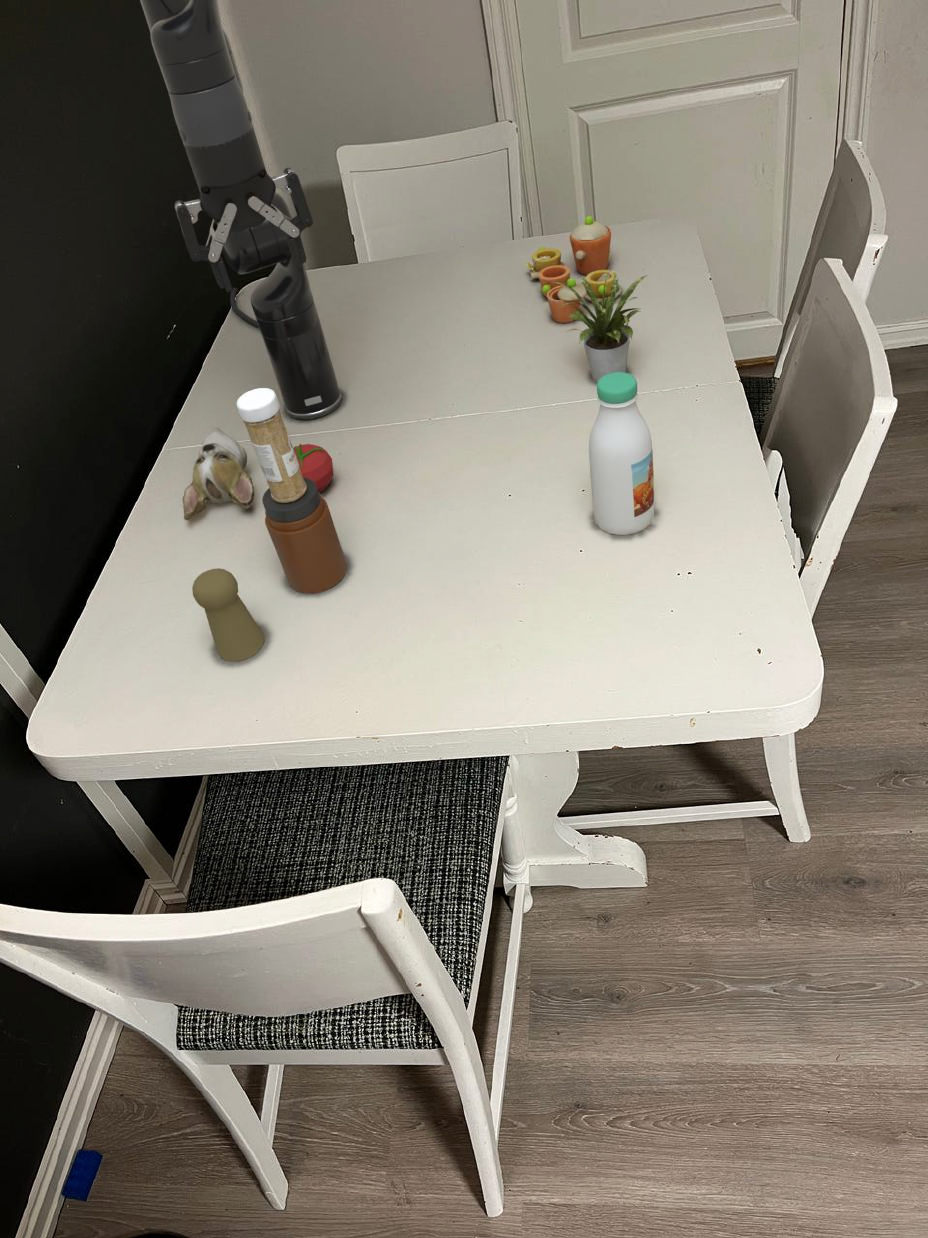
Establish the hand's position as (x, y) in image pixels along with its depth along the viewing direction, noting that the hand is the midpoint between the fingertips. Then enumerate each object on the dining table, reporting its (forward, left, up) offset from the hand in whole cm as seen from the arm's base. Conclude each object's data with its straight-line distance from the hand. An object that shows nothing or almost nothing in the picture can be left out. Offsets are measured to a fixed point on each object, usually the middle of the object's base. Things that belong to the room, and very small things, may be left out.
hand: (264, 278), depth 110 cm
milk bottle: (+23, +33, -34) cm, 53 cm away
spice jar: (+12, -6, -21) cm, 25 cm away
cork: (+20, -18, -34) cm, 44 cm away
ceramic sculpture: (-13, -14, -34) cm, 39 cm away
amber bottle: (+12, -6, -34) cm, 37 cm away
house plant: (-10, +46, -34) cm, 58 cm away
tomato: (-7, -2, -34) cm, 35 cm away
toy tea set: (-39, +56, -34) cm, 76 cm away
